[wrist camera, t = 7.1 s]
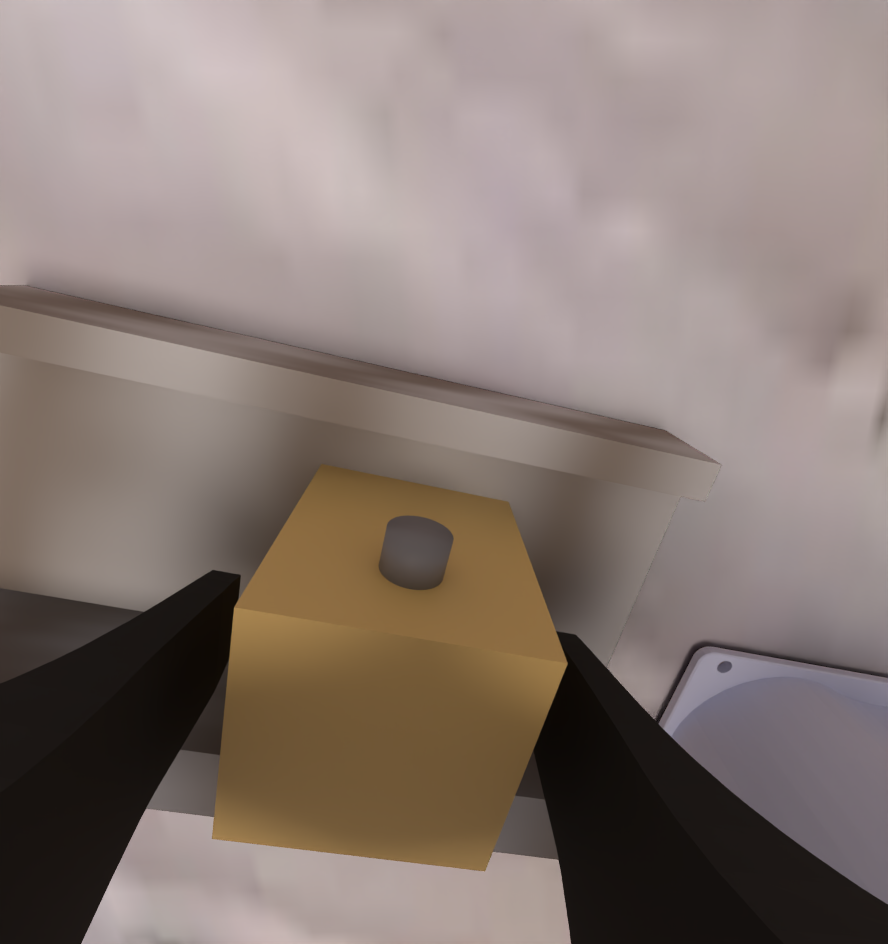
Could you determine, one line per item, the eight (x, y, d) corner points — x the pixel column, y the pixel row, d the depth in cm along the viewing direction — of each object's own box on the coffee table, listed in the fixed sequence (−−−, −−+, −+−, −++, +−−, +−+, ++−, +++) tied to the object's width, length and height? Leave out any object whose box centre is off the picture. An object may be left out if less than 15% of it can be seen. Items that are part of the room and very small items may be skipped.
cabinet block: (516, 474, 13) (584, 620, 7) (463, 649, 15) (484, 871, 9) (326, 434, 12) (238, 559, 7) (297, 621, 14) (211, 838, 9)
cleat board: (665, 430, 15) (813, 520, 9) (562, 686, 18) (622, 867, 12) (24, 285, 13) (-297, 284, 7) (44, 601, 16) (-162, 770, 10)
